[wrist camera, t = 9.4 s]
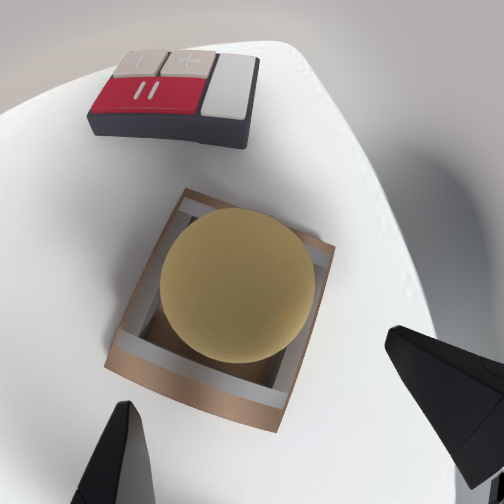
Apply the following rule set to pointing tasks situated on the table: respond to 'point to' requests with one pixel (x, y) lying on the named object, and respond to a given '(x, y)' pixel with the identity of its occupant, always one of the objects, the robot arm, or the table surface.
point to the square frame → (196, 364)
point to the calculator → (179, 97)
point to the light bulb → (237, 285)
